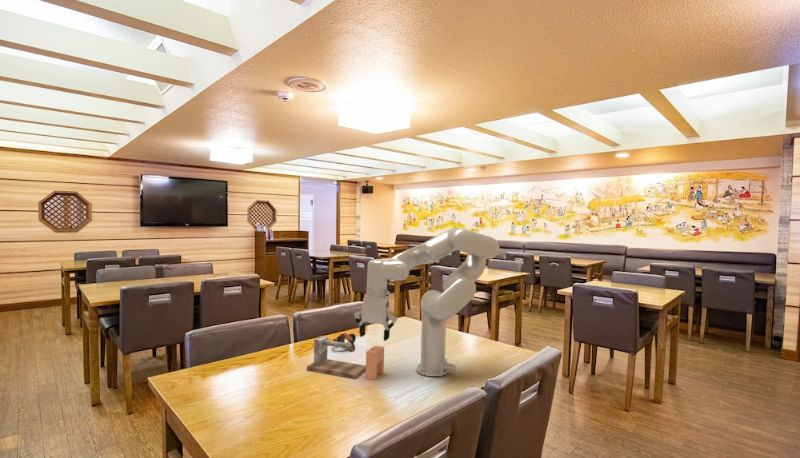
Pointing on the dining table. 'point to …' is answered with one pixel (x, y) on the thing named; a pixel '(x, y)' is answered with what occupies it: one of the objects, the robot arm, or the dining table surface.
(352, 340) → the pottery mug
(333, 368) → the hook stand
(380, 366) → the saddle clip
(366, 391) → the dining table surface
